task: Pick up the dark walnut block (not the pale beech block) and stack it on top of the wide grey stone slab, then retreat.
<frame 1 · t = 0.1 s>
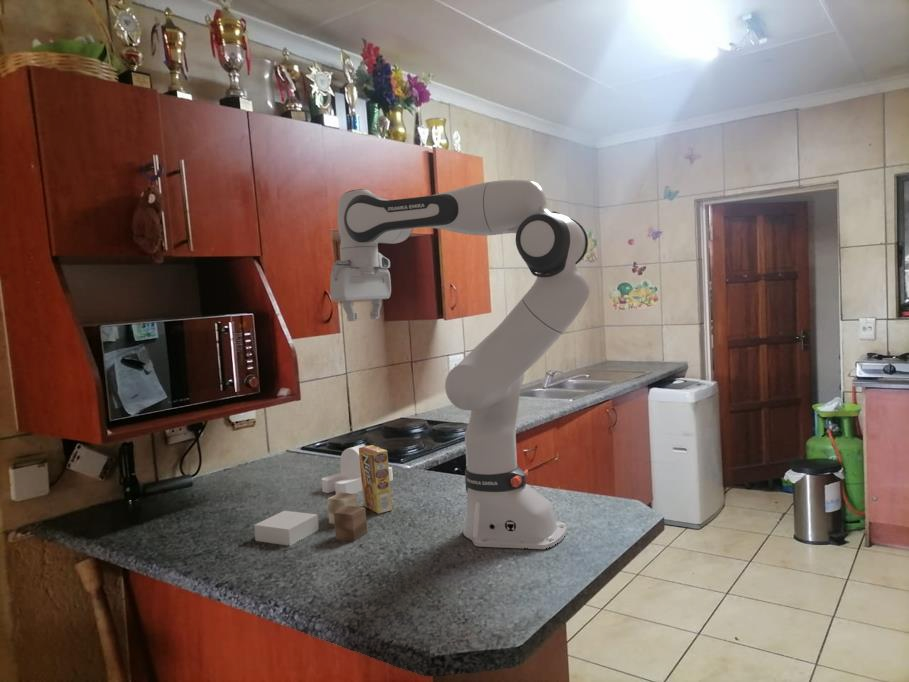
hand: (364, 319, 153), 48 cm above the table, fingers open, 8 cm apart
walnut block: (351, 536, 145), on the table
bracket: (358, 486, 186), on the table
stone slab: (287, 536, 149), on the table
beech block: (343, 520, 156), on the table
candy box: (377, 509, 164), on the table
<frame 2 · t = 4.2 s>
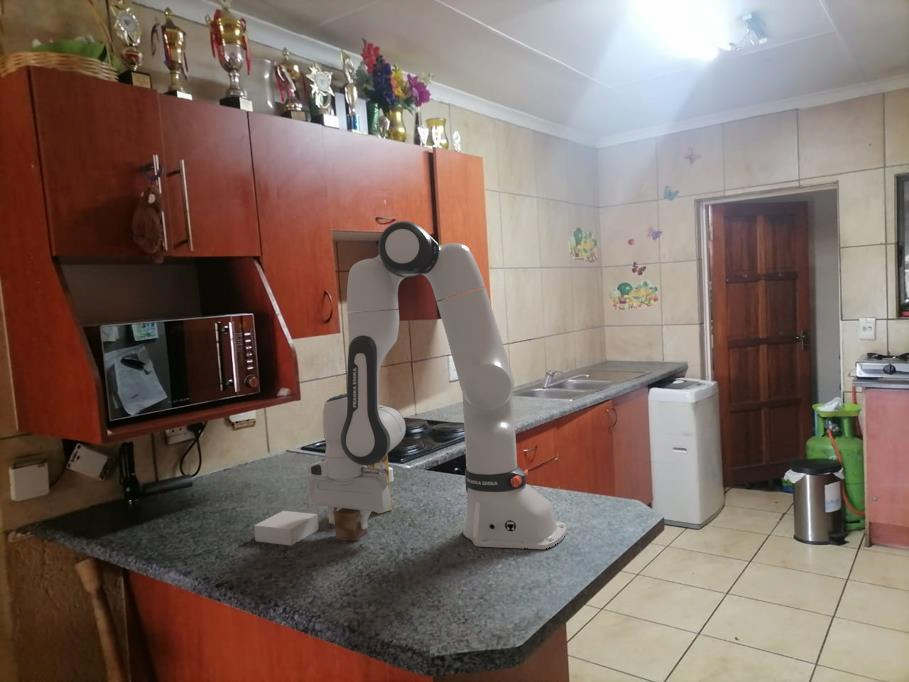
hand: (351, 526, 145), 2 cm above the table, fingers closed on walnut block, 5 cm apart
walnut block: (351, 536, 145), on the table, touching gripper
everything else where it was.
when the fingers open (7 cm above the table, at t = 10.0 s): walnut block drops 1 cm, point 4 cm above the table.
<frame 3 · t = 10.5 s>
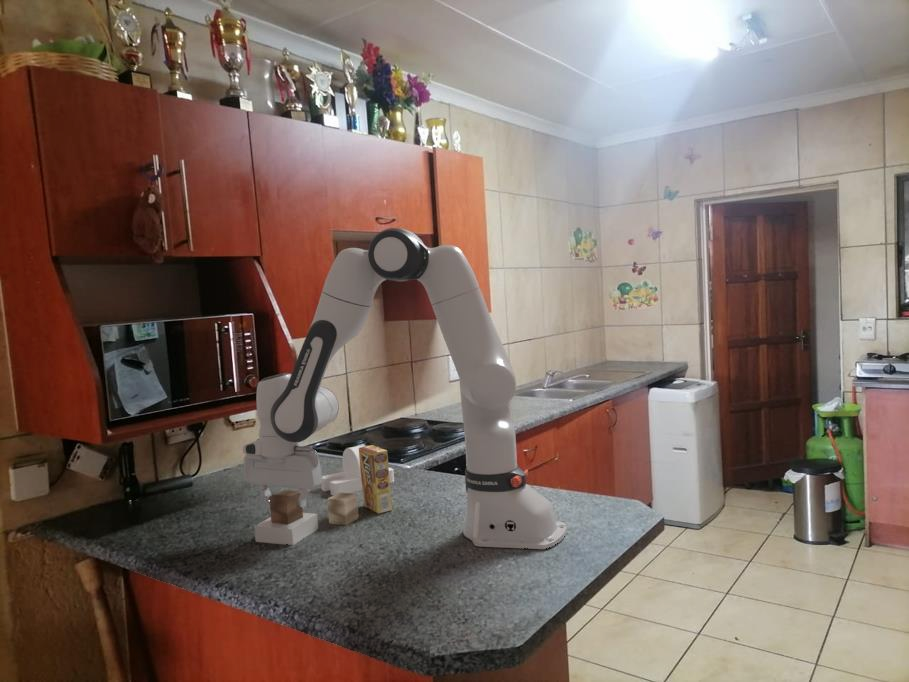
hand: (285, 504, 148), 7 cm above the table, fingers open, 8 cm apart
walnut block: (287, 519, 148), point 4 cm above the table
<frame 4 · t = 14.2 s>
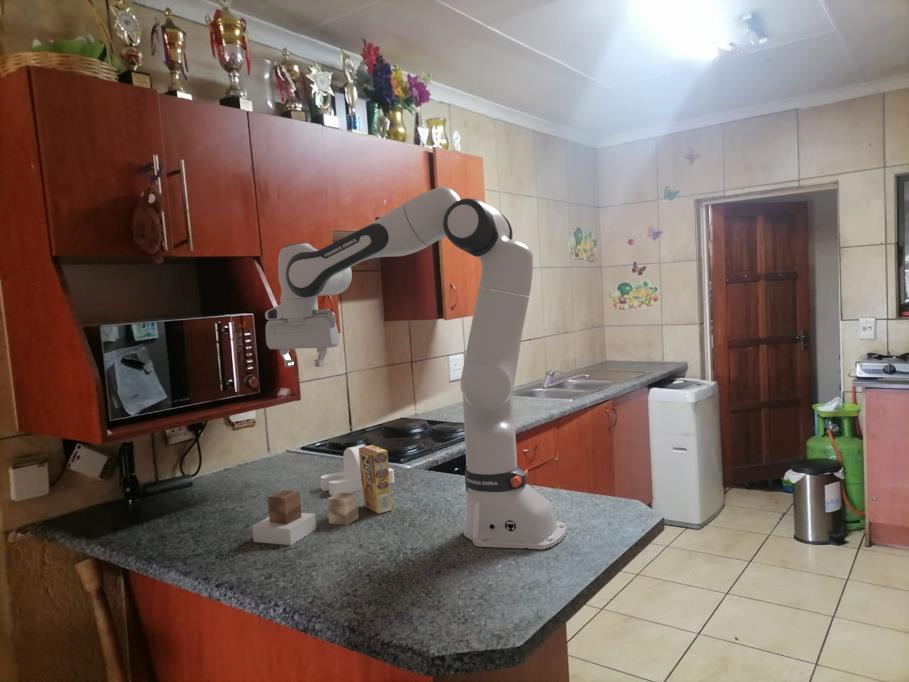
hand: (304, 366, 160), 37 cm above the table, fingers open, 8 cm apart
walnut block: (285, 519, 148), point 4 cm above the table, touching stone slab
stone slab: (285, 536, 149), on the table, touching walnut block
at the end: walnut block inside the target area on the stone slab (0.4 cm from its centre), point 4.0 cm above the stone slab's base; walnut block tilted 0°; walnut block touching stone slab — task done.
